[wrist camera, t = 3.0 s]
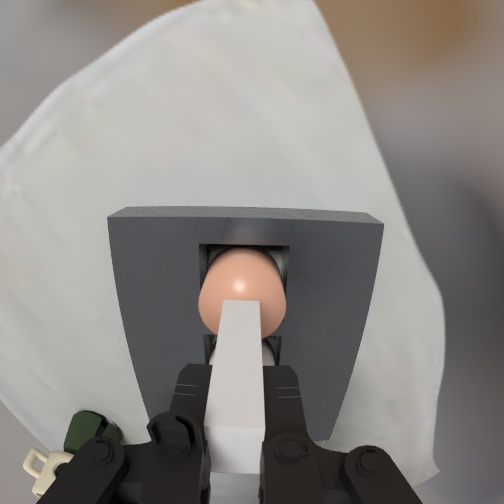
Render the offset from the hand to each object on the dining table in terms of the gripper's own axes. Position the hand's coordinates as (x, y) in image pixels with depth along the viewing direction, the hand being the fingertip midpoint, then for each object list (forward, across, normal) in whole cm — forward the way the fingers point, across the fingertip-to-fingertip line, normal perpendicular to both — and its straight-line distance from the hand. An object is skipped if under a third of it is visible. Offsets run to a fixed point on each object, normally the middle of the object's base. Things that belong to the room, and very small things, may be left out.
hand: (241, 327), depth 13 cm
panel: (+8, 0, +6) cm, 10 cm away
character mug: (+8, +17, +21) cm, 28 cm away
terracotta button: (+6, 0, 0) cm, 6 cm away
